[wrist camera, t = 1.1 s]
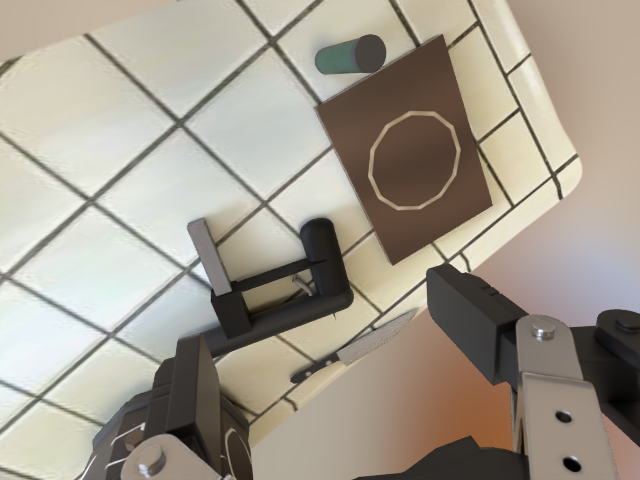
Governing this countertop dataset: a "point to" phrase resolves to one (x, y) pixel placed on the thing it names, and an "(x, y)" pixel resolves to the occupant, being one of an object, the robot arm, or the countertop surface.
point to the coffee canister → (128, 433)
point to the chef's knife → (359, 346)
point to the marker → (352, 56)
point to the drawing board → (408, 149)
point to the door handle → (230, 302)
